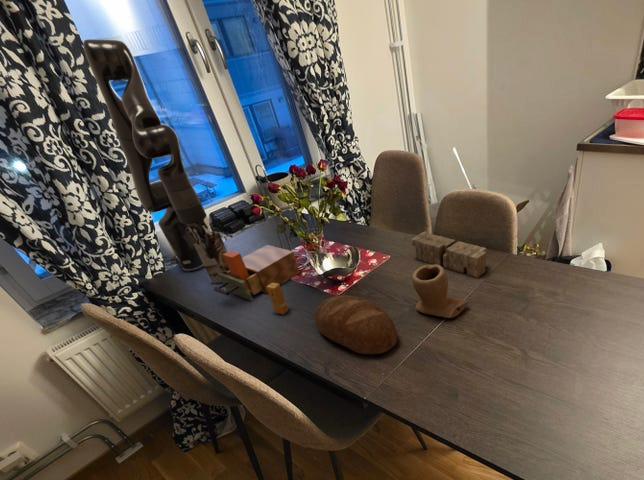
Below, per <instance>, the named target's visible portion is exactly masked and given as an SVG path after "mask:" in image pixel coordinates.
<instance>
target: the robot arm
mask: <svg viewBox="0 0 644 480" xmlns="http://www.w3.org/2000/svg"><path fill="white" fill-rule="evenodd" d="M82 45H83V46H82V47H83V50H84V54H85V58H86V60H87V62H88V65H89V67H90V70H91V72H92V74H93V77H94V78H95V81H96V83H97V85H98V88H99V90H100V92H101V93H100V94H101V95H102V97H103V100H104V103H105V104H106V108H107V110H108V112H109V115H110V119H111V122H112V124H113V128H114V129H115V133H116V136H117V139H118V141H119V144H120V146H121V149H122V151H123V154H124V156H125V159H126V162H127V164H128V167H129V170H130V174H131V177H132V181H133V185H134V188H135V190H136V191H135V192H136V194H137V197H138V199H139V201H140V203H141V205H142V207H143V208H144V209H145V210H146V211H147V212H148V213H151V214H153V213H159V212H161V211H164V210H165V212H164V215H162V217H161V218H160V219H158V226H159V228H160V230H161V232H162V234H163V235H164V237H165V239H166V241H167V243H168V244H169V246H170V248H171V250H172V252H173V254H174V255H173V256H172V258H173V260H174V262H175V264H176V265H180V267H181V269H182V270H183V271H184V272H195V271H198V270H200V269H203V268H205V267H204V265H203V263H202V261H201V259H200V256H199V254H198V252H197V250H196V248H195V246H194V243H195V242H196V243H197V244H198V245H200V246H201V247H202V248H203V249H204V251H205V253H206V255H207V257H208V258H210V259H213V258H215V257H216V254H215V252H214V250H213V248H212V246H213V245H215V233H216V232H215V231H214V230H212V231H210V230H209V228H208V227H209V226H208V225H207V223H206V222H205V219H206V218H207V213H206V211H205V209H204V206H203V204H202V202H201V200H200V198H199V195H198V193H197V192H196V190H195V188H194V186H193V185H192V182H191V180H190V178H189V176H188V173H187V171H186V169H185V164H184V162H183V158H182V151H181V145H180V140H179V137H178V135H177V133H176V131H175V130H174V129H173V128H172V127H171V126H170V125H168V124H162V122H161V119H160V116H159V114H158V112H157V110H156V109H155V107H154V105H153V103H152V102H151V99H150V97H149V95H148V92H147V89H146V86H145V83H144V81H143V78H142V75H141V72H140V70H139V67H138V64H137V62H136V60H135V57H134V55H133V53H132V50H131V49H130V48H129V47H128V45H127V44H126V43H125V42H123V41H122V40H117V39H116V40H115V39H89V38H88V39H84V41H83V43H82ZM111 82H126V85H125V86H124V89H123V91H122V94H121V97H120V95H119V94H118V93H117V92H116V90H115V89H114V88H113V86H112V84H111ZM167 156H170V160H169V162H168V163H166V164H164V165H162V166H160V167H159V168H158V169H157V175H158V178H159V180H155V181H152V182H150V181H151V180H150V172H151V168H152V165H153V161H154V159H158V158H163V157H167Z"/></svg>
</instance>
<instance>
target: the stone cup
mask: <svg viewBox="0 0 644 480" xmlns="http://www.w3.org/2000/svg"><path fill="white" fill-rule="evenodd" d="M411 283H412V285H413V288H414V290H415V292H416V294H417V295H418V297H419V298H420V299H419V300H418V301H417V302H416V304H415V310H416V311H417V312H419V313H422V314H425V315H428V316H429V315H430V316H435V317H439V318H440V317H441V318H446V319H452V318H455V317H457V316H459V314H461V313H462V312H463V311H464V310H465V309H466V308H467V306H468V304H469V301H468V300H466V299H460V298H457V297H451V296H448V289H449V278H448V273H447V271H446V268H444V267H443V266H442V265H441V266H440V265H436V264H425V265H422V266H420V267H418V268H416V269H415V270H414V271H413V273H412V276H411Z"/></svg>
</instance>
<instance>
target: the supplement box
mask: <svg viewBox="0 0 644 480" xmlns="http://www.w3.org/2000/svg"><path fill="white" fill-rule="evenodd" d="M266 288H267V290H268V293H267V294H268V296H269V298H270V301H271V303H272V307H273V309H274V312H275V314H279V315H285V314H286V313H287V312H289V307H288V304H287V301H286V298H285V296H284V292H283V290H282V287H281V285H280V284H277V283H271V284H269V285H268V286H267V287H266Z"/></svg>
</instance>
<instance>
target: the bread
mask: <svg viewBox="0 0 644 480" xmlns="http://www.w3.org/2000/svg"><path fill="white" fill-rule="evenodd" d="M314 321H315V326H316V327H317V329H318V331H319V332H320V333H321V334H322V335H323V336H324V337H325V338H327V339H328V340H330V341H332V342H334V343H336V344H338V345H340V346H343V347H345V348H347V349H348V350H351V351H353V352H354V353H357V354H362V355H380V354H384V353H387V352H388V351H389V350H391V349H392V348H393V347H395V345H396V344H397V341H398V332H397V327H396V326H395V323H394V322H393V319H391V317H390V315H389V314H388V313H387V312H386V311H385V310H383V309H382V308H381V307H380V306H379V305H377V304H376V303H374V302H372V301H370V300H367V299H365V298H363V297H360V296H356V295H347V294H341V295H334V296H331V297H329V298H327V299H324V300H323V301H322V302H321V303H320V304H319V306H318V307H317V308H316V311H315V312H314Z"/></svg>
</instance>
